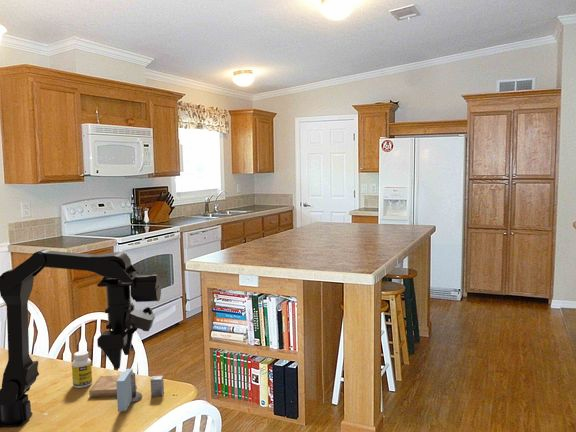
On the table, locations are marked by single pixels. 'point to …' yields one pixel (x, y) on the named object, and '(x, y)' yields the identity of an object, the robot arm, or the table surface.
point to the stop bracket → (157, 386)
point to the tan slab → (112, 387)
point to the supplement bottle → (81, 370)
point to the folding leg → (124, 390)
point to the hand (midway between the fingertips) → (122, 361)
